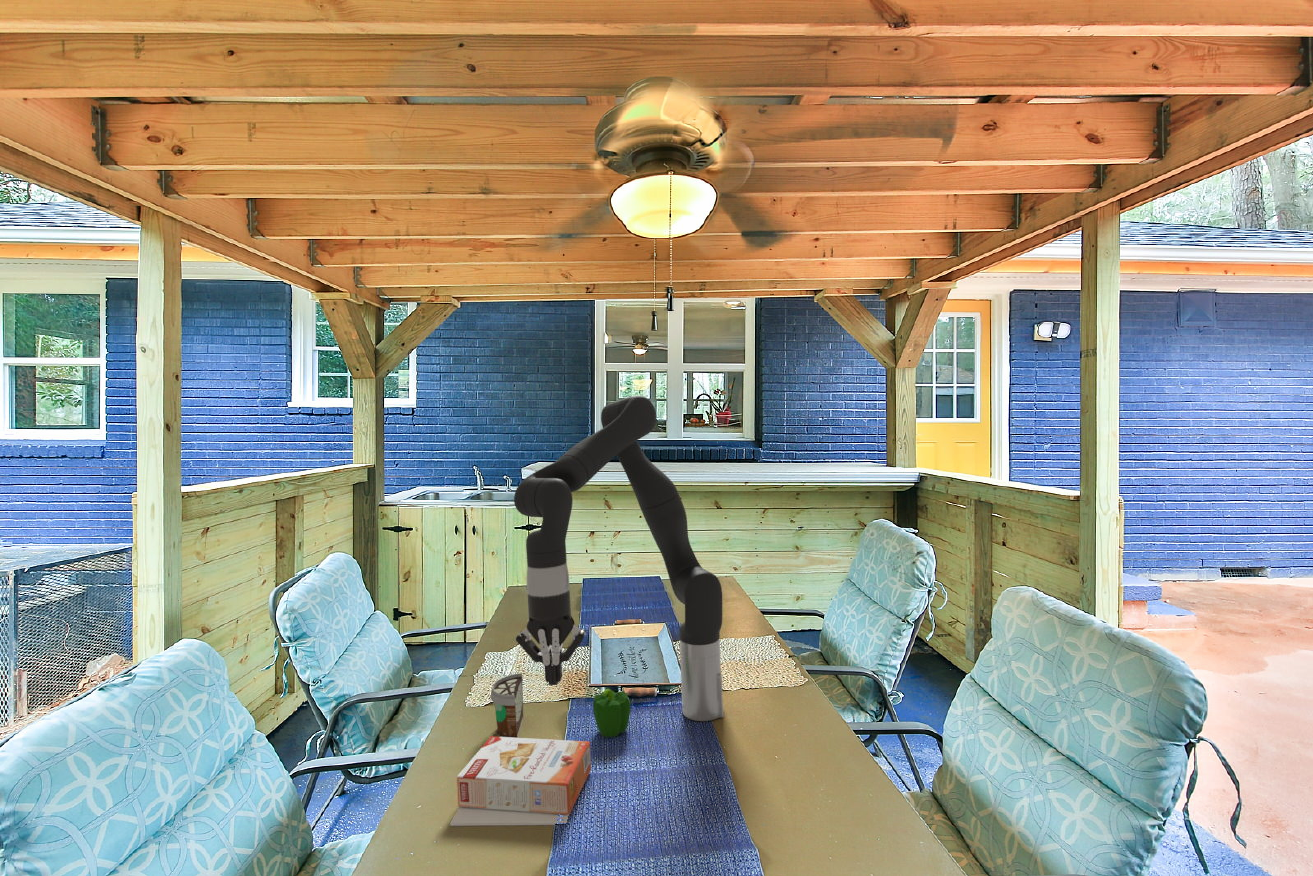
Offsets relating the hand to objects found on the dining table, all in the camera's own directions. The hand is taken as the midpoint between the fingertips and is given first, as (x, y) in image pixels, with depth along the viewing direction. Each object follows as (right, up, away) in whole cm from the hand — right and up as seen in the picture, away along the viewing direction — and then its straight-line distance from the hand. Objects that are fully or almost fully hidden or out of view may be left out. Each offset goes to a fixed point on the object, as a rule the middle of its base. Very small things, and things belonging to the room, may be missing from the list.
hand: (554, 683), depth 107 cm
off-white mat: (-6, -21, +2) cm, 22 cm away
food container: (-15, -21, +26) cm, 36 cm away
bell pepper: (+9, -20, +22) cm, 31 cm away
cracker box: (+5, -17, +1) cm, 18 cm away
